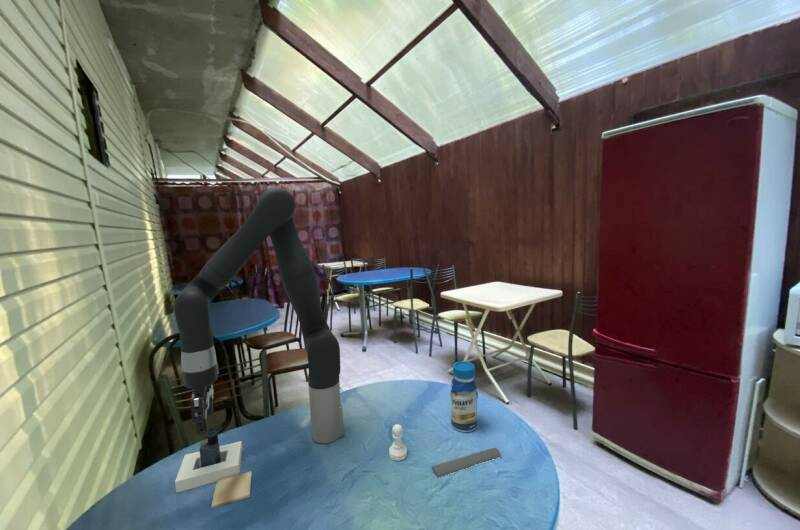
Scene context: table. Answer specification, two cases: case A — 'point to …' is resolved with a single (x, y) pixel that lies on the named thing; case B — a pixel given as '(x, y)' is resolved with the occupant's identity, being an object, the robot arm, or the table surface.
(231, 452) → the white cutout frame
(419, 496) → the table surface
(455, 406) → the beverage bottle
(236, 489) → the tan rectangular block
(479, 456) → the gray half cylinder
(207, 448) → the vaping device
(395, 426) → the chess pawn
